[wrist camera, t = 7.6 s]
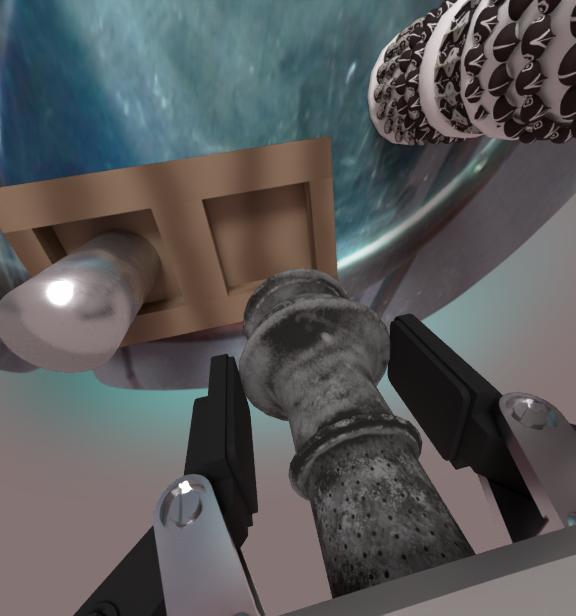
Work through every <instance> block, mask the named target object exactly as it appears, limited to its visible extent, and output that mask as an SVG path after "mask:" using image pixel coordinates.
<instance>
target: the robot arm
mask: <svg viewBox="0 0 576 616" xmlns="http://www.w3.org/2000/svg"><path fill="white" fill-rule="evenodd" d="M388 378H389V381H390V383H391V384H392V386H393V387H394V389H395V390H396V392H397V393H398V394H399V396H400V397H401V399H402V400H403V401H404V403H405V404H406V406H407V407H408V409H409V410H410V412H411V413H412V415H413V416H414V417H415V419H416V420H417V422H418V423H419V425H420V426H421V428H422V429H423V430H424V432H425V433H426V435H427V436H428V438H429V439H430V441H431V442H432V443H433V445H434V446H435V448H436V449H437V451H438V452H439V454H440V455H441V456H442V458H443V459H445V460H446V461H448V460H449V461H450V462H451V464H452V465H453V466H454V468H455V469H456V470H457V469H460V468H464V467H468V466H470V467H471V468H472V469H473V471H474V472H475V473H477V474H478V477H479V480H480V483H481V485H482V488H483V491H484V493H485V496H486V499H487V501H488V504H489V507H490V509H491V512H492V515H493V517H494V520H495V522H496V525H497V528H498V531H499V533H500V536H501V538H502V541H503V544H504V546H503V547H499V548H496V549H493V550H489V551H486V552H483V553H480V554H476V555H473V556H470V557H467V558H463V559H460V560H457V561H453V562H450V563H447V564H444V565H440V566H437V567H434V568H431V569H427V570H424V571H421V572H418V573H414V574H411V575H408V576H405V577H401V578H398V579H395V580H392V581H388V582H385V583H382V584H379V585H375V586H372V587H369V588H366V589H363V590H360V591H356V592H353V593H350V594H347V595H344V596H340V597H337V598H334V599H331V600H328V601H324V602H321V603H318V604H315V605H312V606H308V607H305V608H302V609H299V610H296V611H292V612H289V613H286V614H283V615H280V616H576V425H573V424H570V423H569V422H568V421H567V420H566V418H565V417H564V416H563V414H562V413H561V412H560V411H559V410H558V409H557V408H556V407H555V406H553V405H552V404H550V403H549V402H547V401H546V400H544V399H541V398H539V397H537V396H534V395H531V394H527V393H520V392H515V393H508V394H505V395H502V394H501V393H500V392H499V391H497V389H495V388H494V387H493V386H492V385H491V384H490V383H489V382H488V381H487V380H486V379H484V378H483V377H482V376H481V375H480V374H479V373H478V372H477V371H475V370H474V369H473V368H472V367H471V366H470V365H469V364H468V363H466V362H465V361H464V360H463V359H462V358H461V357H460V356H459V355H457V354H456V353H455V352H454V351H453V350H452V349H451V348H450V347H449V346H447V345H446V344H445V343H444V342H443V341H442V340H441V339H440V338H438V337H437V336H436V335H435V334H434V333H433V332H432V331H431V330H430V329H428V328H427V327H426V326H425V325H424V324H423V323H422V322H421V321H419V320H418V319H417V318H416V317H415V316H414V315H412V314H406V315H401V316H397V317H395V319H394V321H392V322H391V324H390V359H389V362H388ZM257 512H258V503H257V490H256V478H255V465H254V452H253V440H252V427H251V416H250V409H249V405H248V402H247V399H246V396H245V393H244V389H243V386H242V383H241V380H240V375H239V372H238V368H237V365H236V362H235V358H234V357H228V354H224V355H219V356H215V357H212V358H211V366H210V377H209V389H208V396H206V397H201V398H197V399H195V401H194V406H193V413H192V420H191V428H190V435H189V442H188V450H187V456H186V463H185V470H184V476H183V477H181V478H179V479H177V480H175V481H174V482H173V483H171V484H170V485H169V486H168V487H167V488H166V489H165V490H164V491H163V493H162V494H161V496H160V498H159V499H158V501H157V503H156V506H155V509H154V513H153V526H152V527H151V528H150V529H149V531H148V532H147V533H146V534H145V535H144V536H143V537H142V539H141V540H140V541H139V542H138V543H137V544H136V546H135V547H134V548H133V549H132V550H131V551H130V552H129V553H128V554H127V555H126V557H125V558H124V559H123V560H122V561H121V562H120V563H119V565H118V566H117V567H116V568H115V569H114V570H113V571H112V572H111V574H110V575H109V576H108V577H107V578H106V579H105V580H104V581H103V583H102V584H101V585H100V586H99V587H98V588H97V589H96V590H95V592H94V593H93V594H92V595H91V596H90V597H89V598H88V600H87V601H86V602H85V603H84V604H83V605H82V606H81V607H80V609H79V610H78V611H77V612H76V613H75V614H74V616H267V614H266V612H265V609H264V606H263V604H262V601H261V599H260V596H259V593H258V590H257V588H256V585H255V583H254V580H253V577H252V575H251V572H250V569H249V567H248V564H247V561H246V559H245V556H244V553H243V551H242V548H241V546H242V545H243V543H244V541H245V540H246V538H247V537H248V527H250V526H253V522H252V514H253V513H257Z"/></svg>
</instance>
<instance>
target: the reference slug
mask: <svg viewBox="0 0 576 616" xmlns="http://www.w3.org/2000/svg"><path fill="white" fill-rule="evenodd" d="M160 270H161V262H160V257H159V255H158V252H157V251H156V249H155V248H154V246H153V245H152V244H151V243H150V242H149V241H148V240H147V239H146V238H144V237H143V236H141V235H139V234H137V233H135V232H132V231H129V230H123V229H115V230H109V231H106V232H104V233H102V234H100V235H99V236H97V237H95V238H94V239H92V240H91V241H89V242H88V243H86V244H84V245H83V246H81V247H80V248H78V249H77V250H75V251H73V252H72V253H70V254H69V255H67V256H66V257H64V258H62V259H61V260H59V261H58V262H56V263H55V264H53V265H51V266H50V267H48V268H47V269H45V270H43V271H42V272H40V273H39V274H37V275H36V276H34V277H32V278H31V279H29V280H28V281H26V282H25V283H23V284H21V285H20V286H18V287H17V288H15V289H14V290H12V291H10V292H9V293H8V294H6V295H5V296H4V297H3V298H2V299H1V301H0V338H1V339H2V341H3V342H4V344H5V345H6V346H7V347H8V348H9V349H10V350H11V351H12V352H13V353H15V354H16V355H17V356H19V357H20V358H22V359H23V360H25V361H27V362H29V363H31V364H33V365H35V366H38V367H41V368H44V369H47V370H51V371H56V372H66V373H75V372H84V371H88V370H92V369H95V368H97V367H99V366H101V365H103V364H104V363H106V362H107V361H108V360H109V359H110V358H111V357H112V356H113V355H114V353H115V352H116V350H117V348H118V347H119V345H120V343H121V341H122V340H123V338H124V336H125V334H126V333H127V331H128V329H129V327H130V326H131V324H132V322H133V320H134V319H135V317H136V315H137V313H138V311H139V310H140V308H141V306H142V304H143V303H144V301H145V299H146V297H147V296H148V294H149V292H150V290H151V289H152V287H153V285H154V283H155V282H156V280H157V278H158V276H159V274H160Z"/></svg>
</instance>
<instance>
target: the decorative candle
mask: <svg viewBox="0 0 576 616" xmlns="http://www.w3.org/2000/svg"><path fill="white" fill-rule="evenodd" d="M367 99H368V106H369V113H370V118H371V120H372V122H373V124H374V126H375V127H376V129H377V131H378V133H379V134H380V135H381V136H383V137H384V138H386V139H387V140H388V141H390V142H391V143H396V144H406V145H414V144H415V143H416V142H417V143H418V144H419V145H424V144H425V143H426V142H427V140H428V141H429V142H430V143H431V144H438V143H440V142H441V141H442V142H443V143H445V144H449V143H452V142H454V141H455V142H462V141H464V140H466V139H467V138H471V137H478V136H481V135H483V134H485V135H486V136H487V137H488V138H496V139H505V140H517V139H520V141H521V142H523V143H532V142H534V141H536V140H547V139H550V140H551V141H552V142H553V143H557V144H560V143H565V142H567V141H569V140H570V139H571V138H572V137H574V138H576V0H445V1H444V2H443V3H442V4H441V6H440V8H439V9H433V10H431V11H430V12H429V13H428V14H427V15H426V16H425V17H424V18H420V19H417V20H416V21H415V22H413V23H412V24H411V26H410V27H407V28H405V29H404V30H402V31H401V32H400V33H399V34H398V35H397V36H396V37H395V38H394V39H393V40H392V41H391V42H390V43H389V44H388V45H387V46H386V47H385V48H384V49H383V50H382V51H381V53H380V55H379V57H378V60H377V62H376V64H375V66H374V68H373V70H372V72H371V76H370V82H369V88H368V94H367ZM567 127H568V128H567Z"/></svg>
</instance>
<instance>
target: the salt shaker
mask: <svg viewBox="0 0 576 616" xmlns="http://www.w3.org/2000/svg"><path fill="white" fill-rule="evenodd" d="M243 328H244V331H245V335H246V338H247V340H248V341H247V342H246V344H245V347H244V350H243V352H242V355H241V358H240V361H239V375H240V380H241V383H242V386H243V389H244V393H245V396H246V397H247V398H248V399H249V400H250V402H251V403H252V404H253V406H255V407H256V408H258V409H259V410H261V411H262V412H264V413H265V414H267V415H269V416H272V417H275V418H278V419H281V420H284V421H289V423H290V428H291V432H292V437H293V441H294V446H295V450H296V454H295V456H294V458H293V460H292V462H291V463H290V469H289V479H290V482H291V485H292V488H293V489H294V490H295V492H296V493H297V494H298V495H299V496H301V497H303V498H304V499H306V500H309V501H310V503H311V507H312V512H313V516H314V520H315V524H316V529H317V533H318V538H319V542H320V546H321V551H322V555H323V559H324V564H325V568H326V572H327V577H328V581H329V585H330V590H331V594H332V599H334V598H337V597H340V596H344V595H347V594H350V593H353V592H356V591H360V590H363V589H366V588H369V587H372V586H375V585H379V584H382V583H385V582H388V581H392V580H395V579H398V578H401V577H405V576H408V575H411V574H414V573H418V572H421V571H424V570H427V569H431V568H434V567H437V566H440V565H444V564H447V563H450V562H453V561H457V560H460V559H463V558H467V557H470V556H473V555H476V554H475V552H474V551H473V549H472V547H471V546H470V544H469V543H468V541H467V539H466V538H465V536H464V534H463V533H462V531H461V530H460V528H459V526H458V524H457V523H456V521H455V520H454V518H453V516H452V515H451V513H450V511H449V510H448V508H447V506H446V505H445V503H444V502H443V500H442V498H441V497H440V495H439V493H438V492H437V490H436V488H435V487H434V485H433V484H432V482H431V480H430V479H429V477H428V475H427V474H426V472H425V470H424V469H423V467H422V466H421V464H420V462H419V461H418V458H419V456H420V454H421V448H422V440H421V437H420V434H419V432H418V430H417V429H416V428H415V427H414V426H413V425H412V424H411V423H410V422H409V421H407V420H405V419H402V418H400V417H398V416H394V415H393V413H392V411H391V410H390V408H389V407H388V405H387V403H386V402H385V400H384V399H383V397H382V396H381V394H380V392H379V390H378V389H377V387H376V386H377V385H378V383H379V381H380V380H381V378H382V377H383V375H384V374H385V371H386V368H387V365H388V362H389V359H390V337H389V334H388V331H387V328H386V326H385V324H384V323H383V322H382V321H381V319H380V318H379V317H378V315H377V314H376V313H375V312H374V311H372V310H371V309H369V308H368V307H366V306H364V305H363V304H361V303H360V302H356V301H352V300H349V298H348V295H347V293H346V291H345V289H344V288H343V287H342V286H341V284H340V283H339V282H338V281H337V280H336V279H335V278H333V277H331V276H330V275H328V274H327V273H325V272H321V271H318V270H315V269H305V268H296V269H292V270H287V271H283V272H280V273H278V274H276V275H274V276H272V277H270V278H268V279H267V280H266V281H265V282H263V283H262V284H261V285H260V286H259V287H258V288H256V290H255V291H254V293H253V294H252V296H251V297H250V298H249V300H248V302H247V305H246V308H245V311H244V319H243Z"/></svg>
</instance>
